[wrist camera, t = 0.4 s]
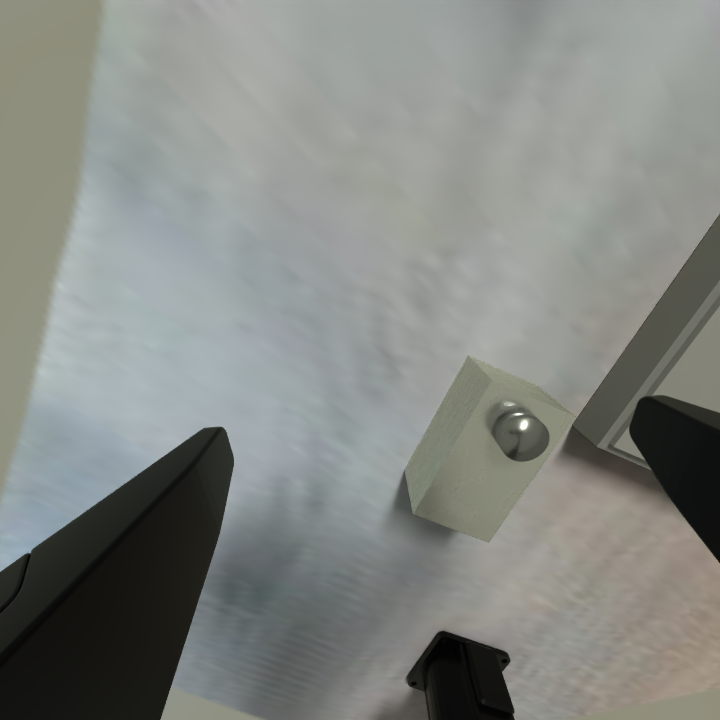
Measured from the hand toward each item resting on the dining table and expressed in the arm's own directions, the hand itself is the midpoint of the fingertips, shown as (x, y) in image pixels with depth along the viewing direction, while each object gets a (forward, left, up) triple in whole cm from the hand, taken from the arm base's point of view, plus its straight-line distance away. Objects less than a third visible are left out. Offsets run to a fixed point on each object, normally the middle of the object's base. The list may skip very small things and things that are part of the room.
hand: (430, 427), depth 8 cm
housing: (-5, -8, -14) cm, 17 cm away
